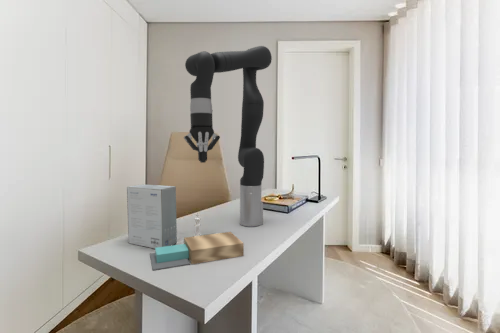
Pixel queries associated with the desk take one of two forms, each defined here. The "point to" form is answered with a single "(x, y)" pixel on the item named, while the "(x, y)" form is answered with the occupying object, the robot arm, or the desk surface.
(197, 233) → the chess piece
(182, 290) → the desk surface
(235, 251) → the tan wooden flat box
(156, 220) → the hard drive box
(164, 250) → the block
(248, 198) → the robot arm
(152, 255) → the mat
